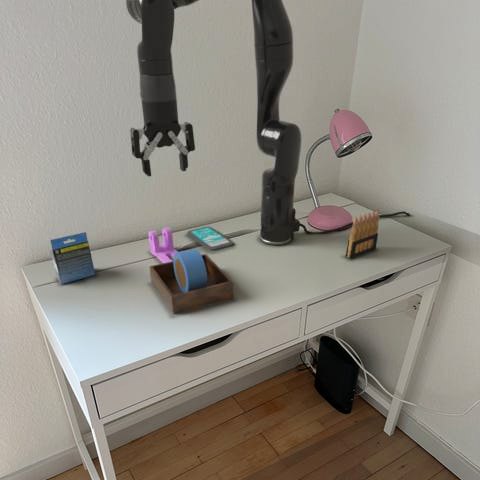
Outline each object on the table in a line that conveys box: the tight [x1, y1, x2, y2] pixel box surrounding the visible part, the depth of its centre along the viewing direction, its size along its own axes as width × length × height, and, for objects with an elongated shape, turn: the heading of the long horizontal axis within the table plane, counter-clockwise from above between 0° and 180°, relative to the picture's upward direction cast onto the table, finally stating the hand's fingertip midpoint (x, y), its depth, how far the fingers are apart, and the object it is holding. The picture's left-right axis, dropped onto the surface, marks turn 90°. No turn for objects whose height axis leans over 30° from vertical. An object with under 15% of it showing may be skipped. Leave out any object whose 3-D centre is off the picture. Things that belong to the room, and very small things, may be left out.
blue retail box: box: [50, 231, 96, 285], centre depth 116 cm, size 9×4×12 cm, turn 123°
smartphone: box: [186, 226, 234, 252], centre depth 138 cm, size 9×1×15 cm
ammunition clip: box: [345, 209, 380, 260], centre depth 128 cm, size 11×2×12 cm, turn 126°
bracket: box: [148, 226, 178, 263], centre depth 126 cm, size 13×6×7 cm, turn 33°
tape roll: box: [172, 248, 207, 293], centre depth 111 cm, size 5×10×10 cm, turn 27°
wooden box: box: [149, 253, 234, 315], centre depth 112 cm, size 15×16×5 cm
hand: (166, 172), depth 108 cm, fingers open, 8 cm apart
